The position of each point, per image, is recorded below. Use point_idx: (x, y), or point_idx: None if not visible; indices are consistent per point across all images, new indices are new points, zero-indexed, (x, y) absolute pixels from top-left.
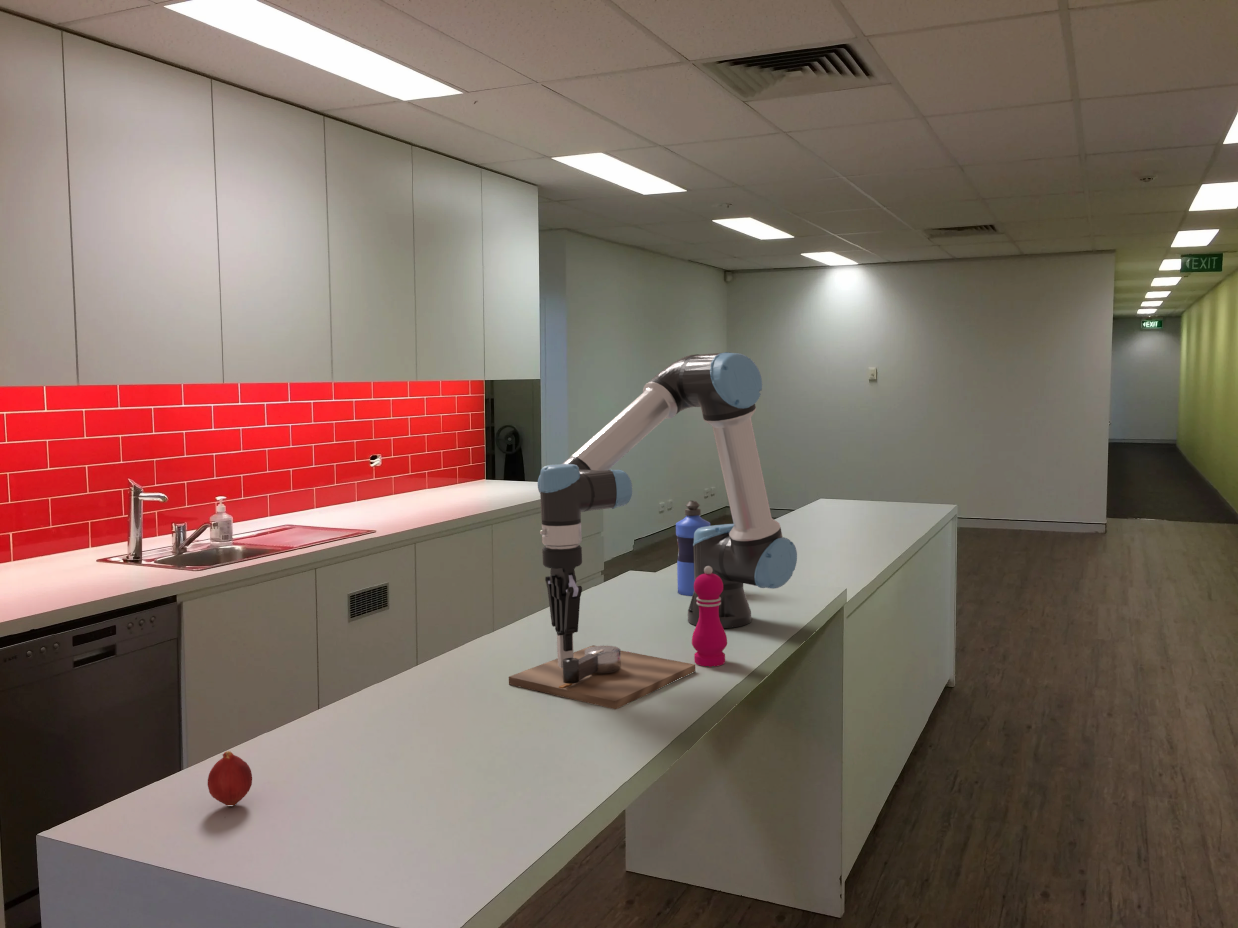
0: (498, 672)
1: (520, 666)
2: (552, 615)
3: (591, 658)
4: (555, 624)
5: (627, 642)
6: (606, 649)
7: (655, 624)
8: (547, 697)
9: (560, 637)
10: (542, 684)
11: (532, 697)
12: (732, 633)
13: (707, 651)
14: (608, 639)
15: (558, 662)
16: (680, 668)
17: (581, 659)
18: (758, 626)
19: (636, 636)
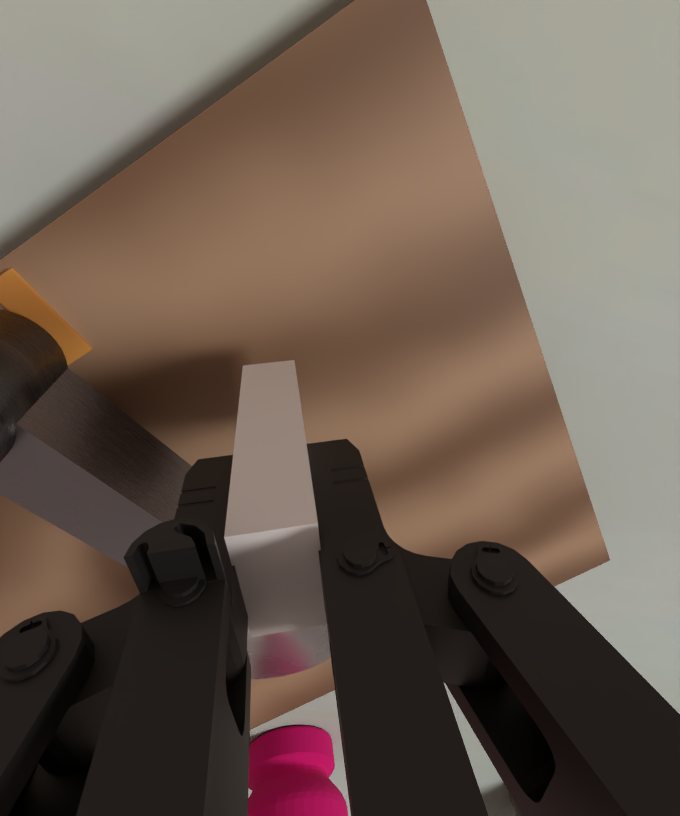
0: (676, 10)
1: (665, 207)
2: (560, 695)
3: (117, 559)
4: (400, 597)
5: (597, 629)
6: (279, 636)
7: (672, 693)
8: (4, 170)
9: (230, 517)
10: (113, 177)
11: (19, 56)
12: (479, 785)
13: (249, 798)
14: (668, 595)
15: (283, 372)
16: None
17: (103, 508)
18: (489, 812)
19: (625, 652)
